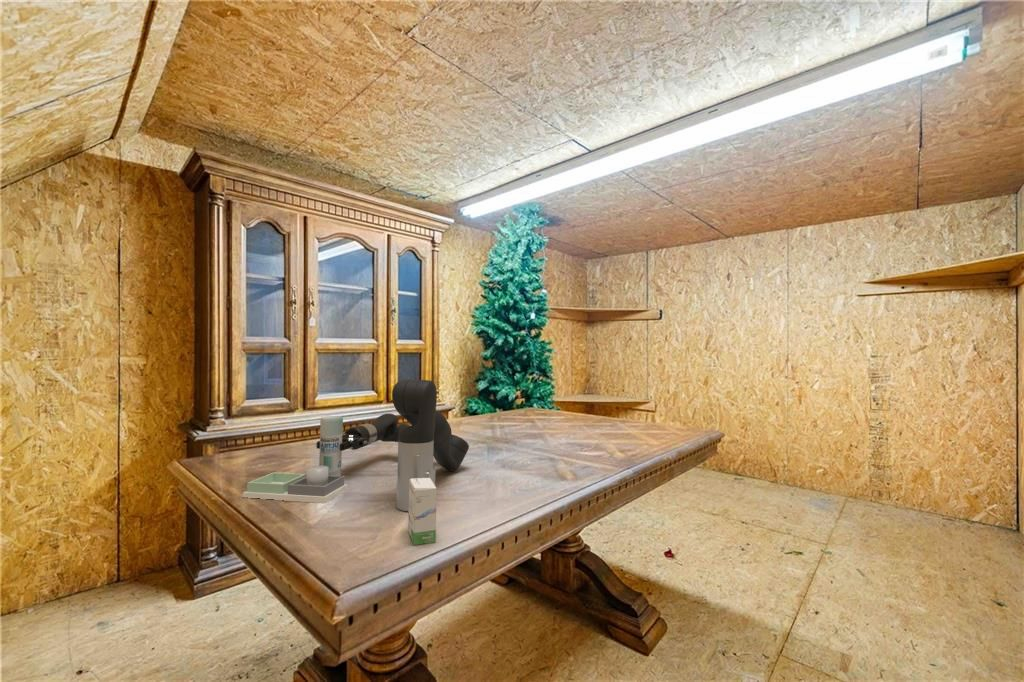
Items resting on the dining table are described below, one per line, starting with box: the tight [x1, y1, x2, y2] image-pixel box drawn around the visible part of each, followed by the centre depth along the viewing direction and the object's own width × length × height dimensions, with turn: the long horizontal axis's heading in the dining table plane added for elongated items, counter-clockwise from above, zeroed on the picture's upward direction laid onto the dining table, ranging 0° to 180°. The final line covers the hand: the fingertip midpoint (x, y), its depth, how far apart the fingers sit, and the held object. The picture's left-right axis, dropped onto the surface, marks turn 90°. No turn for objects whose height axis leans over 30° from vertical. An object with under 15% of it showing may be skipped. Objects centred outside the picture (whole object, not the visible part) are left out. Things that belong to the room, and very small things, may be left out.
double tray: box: [242, 464, 349, 504], centre depth 122 cm, size 24×12×8 cm, turn 83°
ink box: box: [407, 478, 438, 546], centre depth 95 cm, size 8×5×12 cm, turn 21°
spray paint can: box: [318, 415, 344, 476], centre depth 134 cm, size 6×6×20 cm
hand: (328, 446), depth 133 cm, fingers open, 8 cm apart
